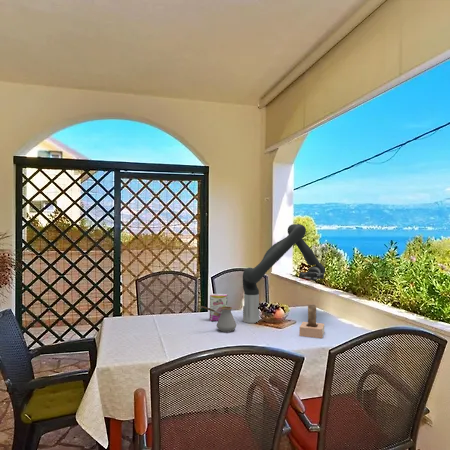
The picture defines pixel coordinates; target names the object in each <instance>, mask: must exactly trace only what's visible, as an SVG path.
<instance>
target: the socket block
mask: <svg viewBox="0 0 450 450" xmlns="http://www.w3.org/2000/svg"><path fill="white" fill-rule="evenodd" d="M324 335H325V323H320V322H316V327H308V321H302V323H301V324H300V326H299V336H298V337H305V338H306V337H307V338H313V339H314V338H316V339H323V337H324Z"/></svg>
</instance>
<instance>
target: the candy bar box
mask: <svg viewBox="0 0 450 450" xmlns="http://www.w3.org/2000/svg"><path fill="white" fill-rule="evenodd" d="M221 307H229V293H226V294H225V293H210V294H209V308H210V309H213V310H215V311H218V312H221V313H222V309H221ZM220 315H221V314H219V313H216V312H213V311H210V310H209V322H218V320H219V318H220Z"/></svg>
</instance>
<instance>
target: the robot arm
mask: <svg viewBox="0 0 450 450" xmlns="http://www.w3.org/2000/svg"><path fill="white" fill-rule="evenodd" d="M306 234H307V229H306V226H304V225H303V224H297V223H293V224H290V225H288V227H287V236H286V237H284V238H283V239H281V240H279V241H277V242H275V243H274V244H272V246H271V247H269V248H268V249H267V250H266V252H265V253H264V255H263V257H262V259H261V261H260V262H259V263H258V264H257V265H256V266H254V268H253V267H246V268H245V269H244V270H243V273H242V288H243V289H242V290H243V302H244V303H243V306H242V310H243V311H242V322H243V323H248V324H257V323H259V322H260V290H259V288H258V285H257V283H259V282H260V281H261V280H262V279H263V278H264V276H265V274H267V272H268V271H269V270H270V269H271V268H272V267H273V266H274V265H276V263H277V262H278V261H279V260H280V259H282V257H284V255H285V254H286V253H287V252H288V251H289V250H290V249H291V248H292V247H293V246H294V245H296V247H297V248H298V250H299V251H300V253H301V254H302V257H303V259H304V260H305V262H306V264H307V265H308V266H311V267H309V268H308V270H307V272H305V271H304V272H303V271H302V272H299V274H298V275H299V278H300V279H304V278H305V279H308V280H309V281H316V280H320V279H322V280H323V279H325V276H324V275H325V273H326V268H325V266H324V265H323V264H322V263H321V262H320V261H319V260H318V259H317V256H316V255H315V253H314V251H313V250H312V249H311V247H310V246H309V245H308V243H307V242H305V240H304V237H305V235H306ZM258 307H259V309H258ZM258 321H259V322H258ZM256 322H257V323H256Z"/></svg>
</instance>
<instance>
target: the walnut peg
mask: <svg viewBox="0 0 450 450" xmlns="http://www.w3.org/2000/svg"><path fill="white" fill-rule="evenodd" d="M307 322H308V327H316V323H317V305H316V304H308V305H307Z"/></svg>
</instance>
